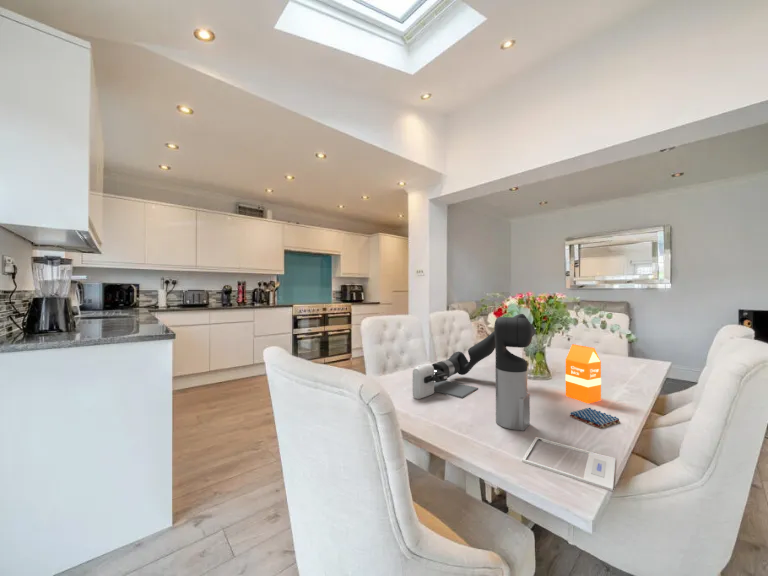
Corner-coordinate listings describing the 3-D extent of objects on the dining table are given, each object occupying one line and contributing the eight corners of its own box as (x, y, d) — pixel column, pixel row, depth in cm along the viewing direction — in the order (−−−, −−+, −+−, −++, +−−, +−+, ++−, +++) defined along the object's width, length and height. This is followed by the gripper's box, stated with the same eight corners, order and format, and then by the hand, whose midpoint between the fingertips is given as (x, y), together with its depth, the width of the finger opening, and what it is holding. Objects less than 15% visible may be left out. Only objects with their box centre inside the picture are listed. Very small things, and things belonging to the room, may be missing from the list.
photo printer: (427, 391, 128) (427, 361, 128) (435, 393, 125) (435, 362, 124) (410, 397, 120) (410, 365, 120) (419, 400, 117) (419, 367, 117)
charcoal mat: (477, 389, 130) (477, 387, 130) (462, 398, 119) (462, 396, 119) (440, 380, 142) (440, 379, 142) (423, 388, 131) (423, 387, 131)
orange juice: (588, 403, 113) (587, 348, 113) (565, 396, 121) (565, 344, 121) (601, 400, 116) (601, 347, 116) (578, 393, 124) (578, 343, 124)
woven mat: (567, 418, 102) (567, 411, 102) (588, 412, 106) (587, 406, 106) (600, 431, 93) (600, 424, 93) (621, 424, 97) (621, 418, 97)
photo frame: (612, 488, 65) (521, 458, 76) (612, 493, 65) (521, 463, 76) (615, 457, 76) (535, 436, 88) (615, 462, 76) (536, 440, 88)
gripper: (457, 382, 129) (435, 393, 116) (428, 375, 138) (404, 385, 125) (457, 364, 128) (435, 373, 116) (428, 359, 138) (404, 366, 125)
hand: (419, 379), depth 121 cm, fingers closed on photo printer, 4 cm apart
